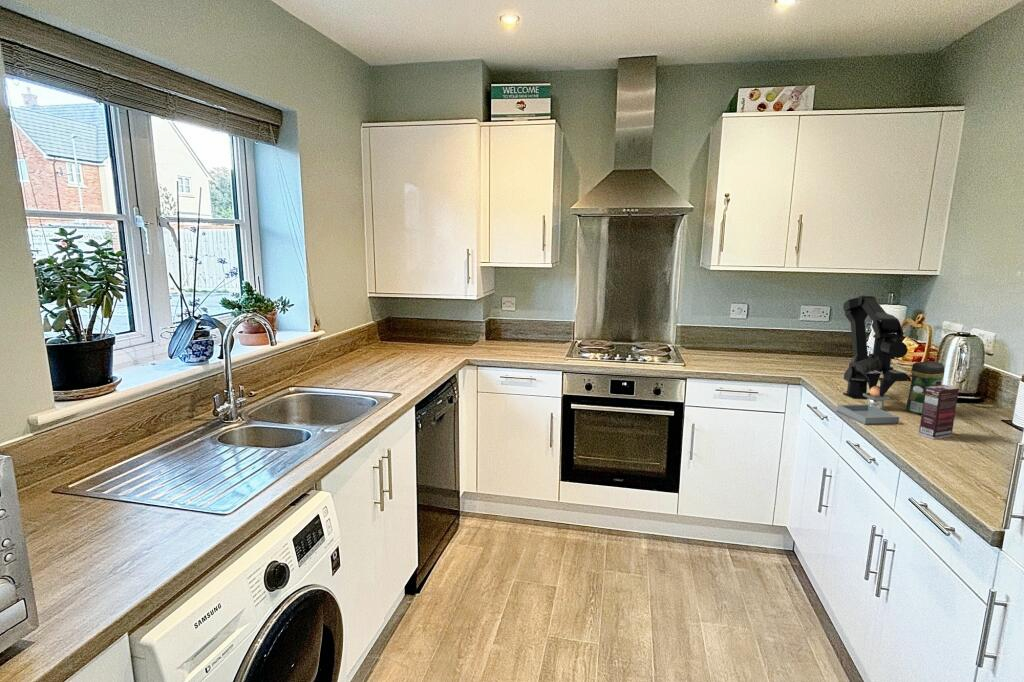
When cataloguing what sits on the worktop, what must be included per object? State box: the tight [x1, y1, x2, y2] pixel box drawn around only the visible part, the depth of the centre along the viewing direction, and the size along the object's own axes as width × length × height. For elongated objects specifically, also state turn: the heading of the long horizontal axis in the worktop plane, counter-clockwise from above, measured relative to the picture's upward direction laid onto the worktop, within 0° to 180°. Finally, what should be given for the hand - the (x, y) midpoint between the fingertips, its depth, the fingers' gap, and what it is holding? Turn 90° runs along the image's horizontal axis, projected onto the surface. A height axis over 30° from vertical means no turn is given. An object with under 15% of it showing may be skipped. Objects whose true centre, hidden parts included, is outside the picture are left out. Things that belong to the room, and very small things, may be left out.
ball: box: [869, 385, 882, 397], centre depth 198 cm, size 4×4×4 cm
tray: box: [836, 403, 900, 426], centre depth 188 cm, size 14×12×2 cm
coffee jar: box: [905, 360, 945, 415], centre depth 194 cm, size 10×8×19 cm
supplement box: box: [918, 384, 960, 440], centre depth 170 cm, size 9×5×16 cm, turn 109°
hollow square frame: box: [863, 392, 891, 411], centre depth 199 cm, size 6×6×5 cm
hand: (876, 394), depth 198 cm, fingers closed on ball, 4 cm apart
